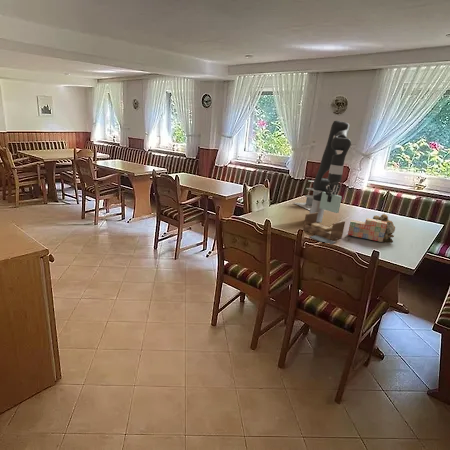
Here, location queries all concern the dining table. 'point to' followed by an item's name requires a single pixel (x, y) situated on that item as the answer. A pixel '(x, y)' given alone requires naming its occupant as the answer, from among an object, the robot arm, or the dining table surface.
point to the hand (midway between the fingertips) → (330, 201)
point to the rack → (335, 230)
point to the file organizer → (309, 199)
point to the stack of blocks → (368, 229)
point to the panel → (330, 203)
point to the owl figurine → (387, 228)
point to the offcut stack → (321, 227)
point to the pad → (322, 239)
